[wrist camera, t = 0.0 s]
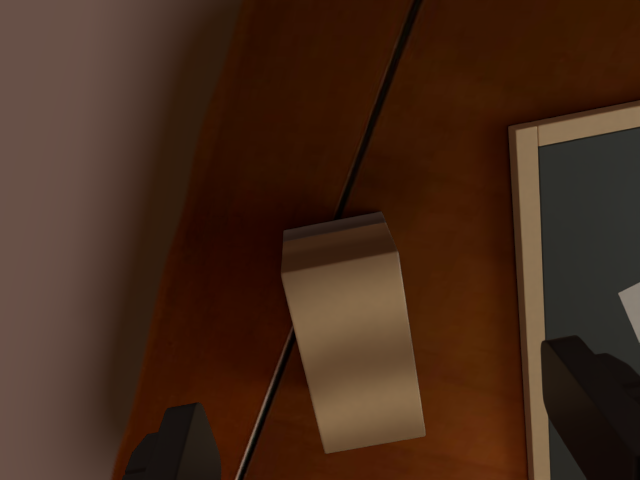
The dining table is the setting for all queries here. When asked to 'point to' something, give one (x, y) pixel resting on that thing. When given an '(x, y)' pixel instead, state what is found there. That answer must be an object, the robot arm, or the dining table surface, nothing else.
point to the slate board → (575, 252)
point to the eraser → (353, 331)
